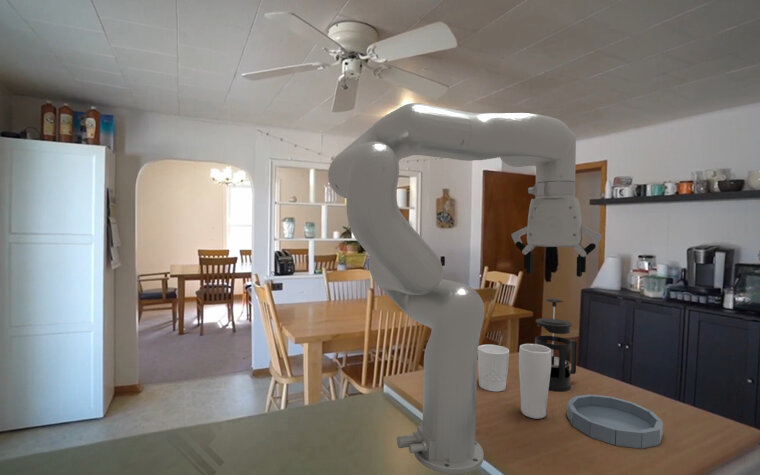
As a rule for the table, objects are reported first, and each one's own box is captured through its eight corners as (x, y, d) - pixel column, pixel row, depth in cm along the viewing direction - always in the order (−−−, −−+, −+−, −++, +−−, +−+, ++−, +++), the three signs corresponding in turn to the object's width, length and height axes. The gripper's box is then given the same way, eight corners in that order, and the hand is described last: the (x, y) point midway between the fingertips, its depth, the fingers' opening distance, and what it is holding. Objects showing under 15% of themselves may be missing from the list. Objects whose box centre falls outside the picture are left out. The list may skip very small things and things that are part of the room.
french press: (542, 392, 102) (545, 302, 101) (524, 378, 111) (526, 296, 110) (584, 390, 103) (587, 302, 103) (563, 377, 113) (566, 295, 112)
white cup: (470, 383, 107) (471, 346, 106) (493, 379, 110) (494, 343, 110) (490, 394, 99) (491, 355, 99) (514, 390, 103) (515, 351, 103)
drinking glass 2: (552, 423, 85) (554, 353, 85) (519, 419, 87) (521, 351, 86) (546, 409, 92) (548, 344, 92) (515, 405, 93) (517, 342, 93)
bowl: (616, 453, 74) (617, 437, 74) (551, 412, 90) (551, 399, 90) (682, 440, 79) (682, 425, 79) (609, 403, 96) (609, 391, 96)
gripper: (507, 192, 84) (506, 273, 85) (601, 188, 75) (599, 279, 75) (516, 194, 90) (515, 269, 91) (604, 191, 81) (602, 275, 82)
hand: (553, 274), depth 83 cm, fingers open, 9 cm apart
